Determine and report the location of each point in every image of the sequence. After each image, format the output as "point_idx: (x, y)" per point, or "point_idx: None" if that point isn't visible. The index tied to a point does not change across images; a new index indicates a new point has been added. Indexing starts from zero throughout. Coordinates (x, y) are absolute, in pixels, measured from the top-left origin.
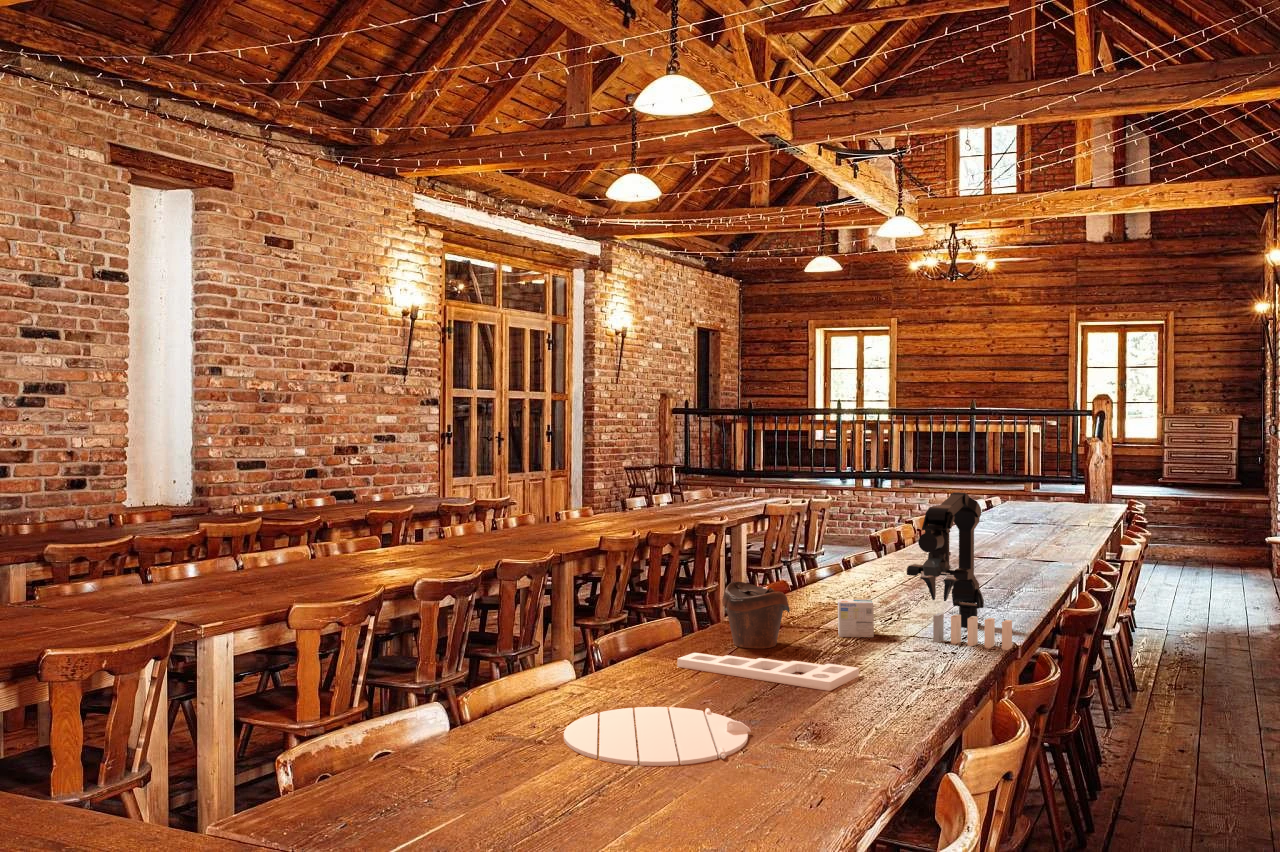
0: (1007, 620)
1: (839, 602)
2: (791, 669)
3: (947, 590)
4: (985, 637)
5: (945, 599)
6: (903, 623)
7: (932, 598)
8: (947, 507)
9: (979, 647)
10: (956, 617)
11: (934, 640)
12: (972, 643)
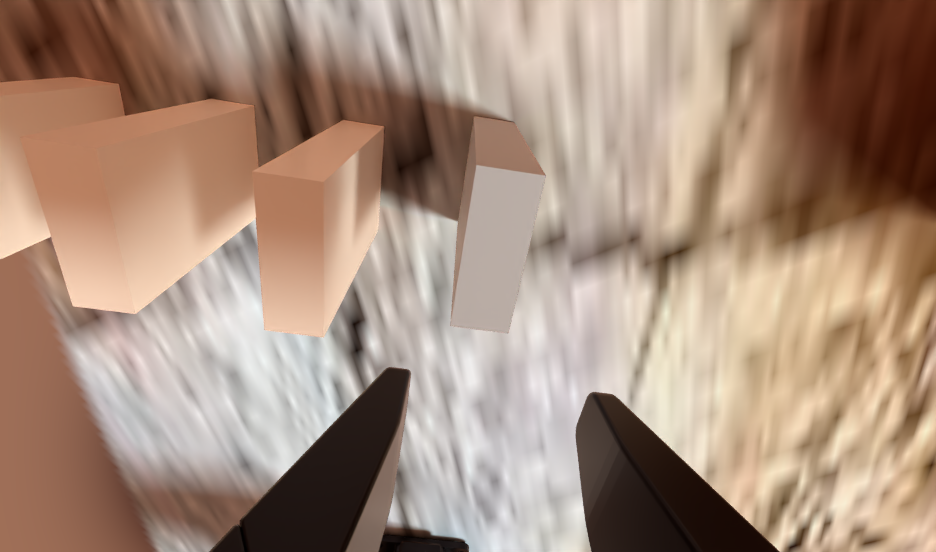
0: None
1: None
2: None
3: (230, 546)
4: (43, 90)
5: (375, 383)
6: None
7: (623, 410)
8: None
9: (150, 70)
10: (256, 182)
11: (506, 121)
12: (204, 102)
